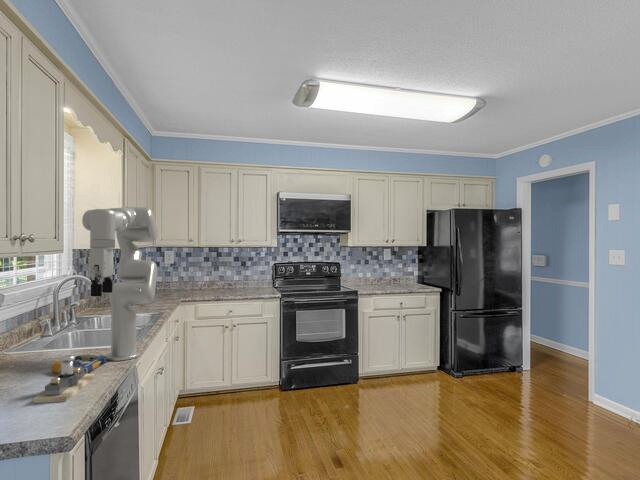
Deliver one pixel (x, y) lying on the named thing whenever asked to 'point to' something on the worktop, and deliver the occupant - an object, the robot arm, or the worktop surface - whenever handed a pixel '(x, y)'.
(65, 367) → the light bulb
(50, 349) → the worktop surface
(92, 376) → the ring socket base plate
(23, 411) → the worktop surface
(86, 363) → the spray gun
